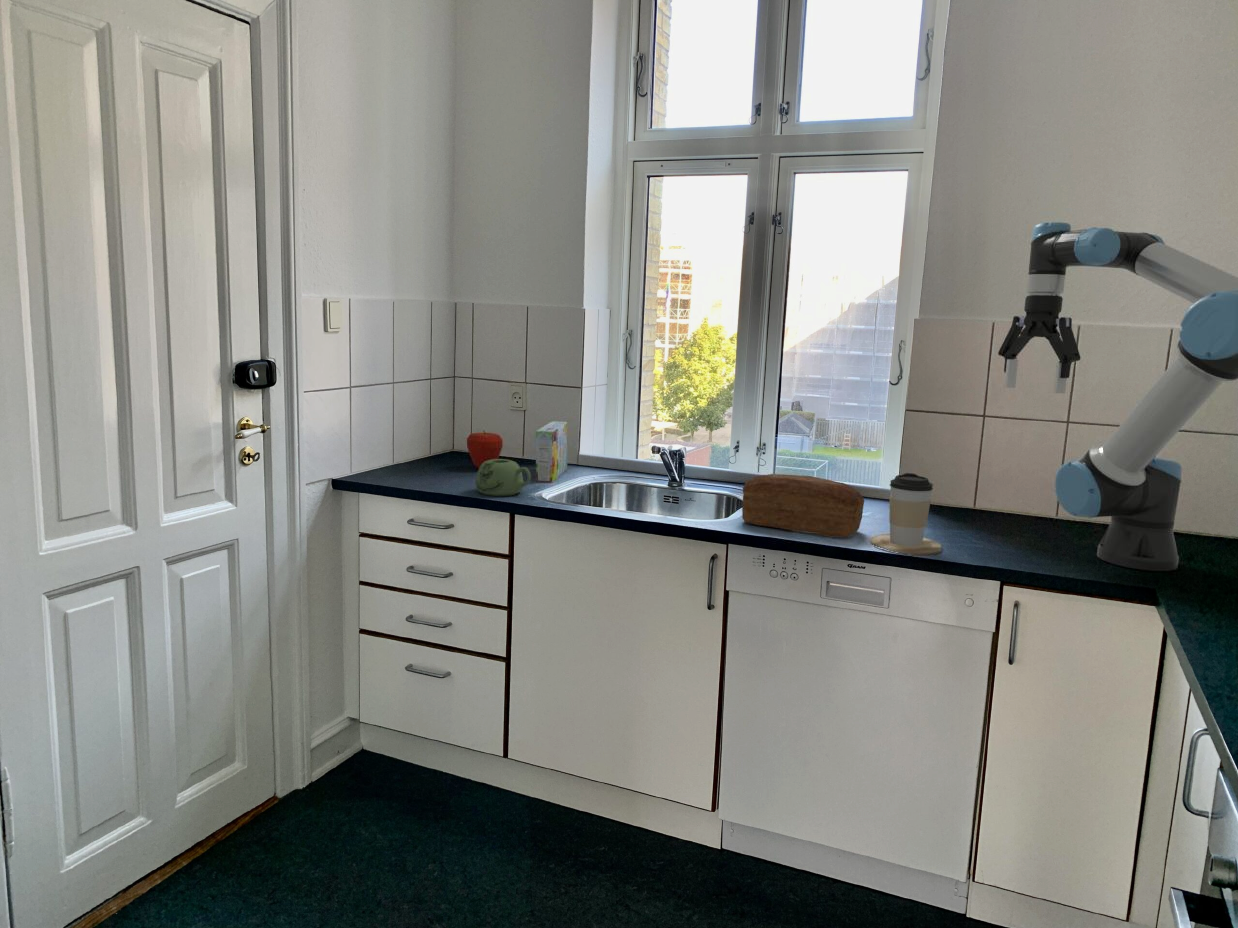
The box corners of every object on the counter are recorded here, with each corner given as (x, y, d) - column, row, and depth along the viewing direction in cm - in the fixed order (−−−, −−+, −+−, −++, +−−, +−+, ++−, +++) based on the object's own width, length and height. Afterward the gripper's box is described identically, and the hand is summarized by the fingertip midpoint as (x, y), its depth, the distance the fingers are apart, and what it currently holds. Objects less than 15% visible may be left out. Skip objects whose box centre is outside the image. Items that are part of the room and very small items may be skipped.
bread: (754, 514, 223) (757, 466, 220) (866, 531, 209) (870, 480, 207) (733, 525, 211) (736, 474, 208) (851, 543, 197) (855, 490, 195)
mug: (465, 493, 234) (465, 461, 233) (492, 485, 246) (493, 455, 244) (517, 501, 228) (517, 468, 226) (542, 492, 239) (543, 461, 238)
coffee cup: (929, 548, 191) (936, 481, 189) (886, 545, 193) (892, 478, 190) (924, 538, 200) (930, 473, 197) (882, 535, 202) (888, 470, 199)
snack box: (550, 469, 274) (551, 420, 271) (567, 470, 273) (569, 421, 271) (534, 481, 253) (535, 429, 251) (553, 483, 253) (554, 430, 250)
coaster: (956, 552, 192) (956, 548, 192) (900, 557, 187) (901, 553, 187) (909, 535, 206) (909, 531, 206) (856, 539, 200) (857, 535, 200)
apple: (485, 473, 262) (485, 433, 260) (458, 469, 268) (458, 429, 266) (509, 468, 271) (510, 430, 269) (483, 464, 277) (483, 426, 275)
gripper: (1106, 295, 186) (1093, 395, 190) (1012, 295, 209) (1002, 385, 213) (1081, 294, 183) (1069, 395, 187) (988, 294, 206) (978, 385, 210)
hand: (1033, 390), depth 200 cm, fingers open, 13 cm apart
